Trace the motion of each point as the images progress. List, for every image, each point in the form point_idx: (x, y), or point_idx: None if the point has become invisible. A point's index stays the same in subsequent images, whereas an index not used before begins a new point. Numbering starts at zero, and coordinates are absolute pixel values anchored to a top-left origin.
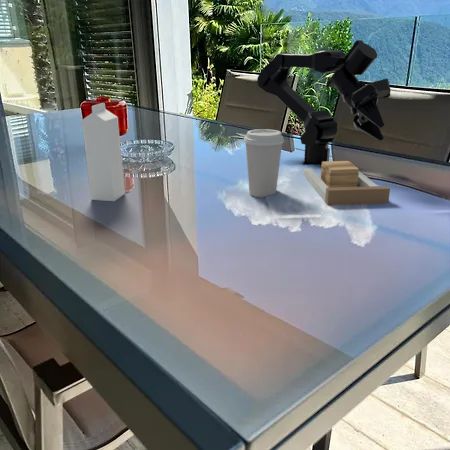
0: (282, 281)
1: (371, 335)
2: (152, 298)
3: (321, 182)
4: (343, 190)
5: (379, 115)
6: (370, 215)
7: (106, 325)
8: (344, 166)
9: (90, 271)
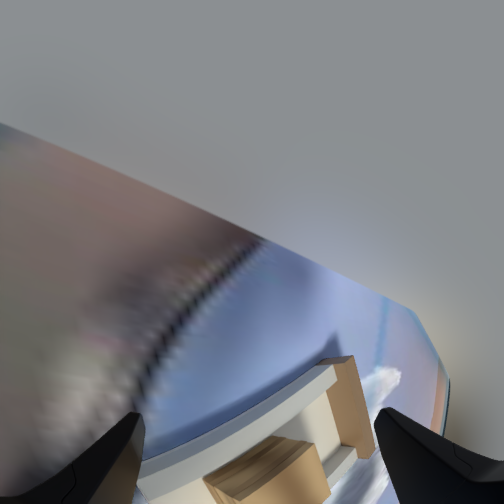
0: (425, 407)
1: (434, 350)
2: None
3: None
4: (371, 430)
5: (436, 439)
6: None
7: None
8: (301, 484)
9: None
